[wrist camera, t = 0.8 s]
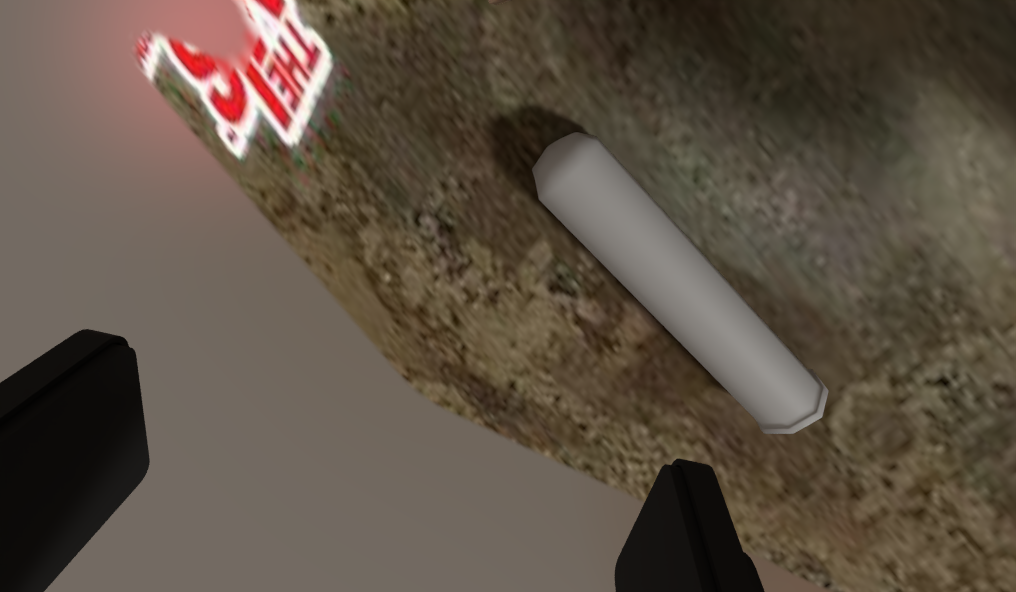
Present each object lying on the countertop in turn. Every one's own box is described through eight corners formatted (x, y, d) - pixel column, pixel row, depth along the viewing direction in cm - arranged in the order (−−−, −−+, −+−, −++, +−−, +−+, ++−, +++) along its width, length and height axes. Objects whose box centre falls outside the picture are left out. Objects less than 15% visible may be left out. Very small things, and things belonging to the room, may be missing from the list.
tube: (504, 193, 31) (756, 444, 38) (569, 136, 28) (834, 422, 34) (529, 153, 35) (754, 387, 42) (589, 99, 32) (824, 363, 38)
